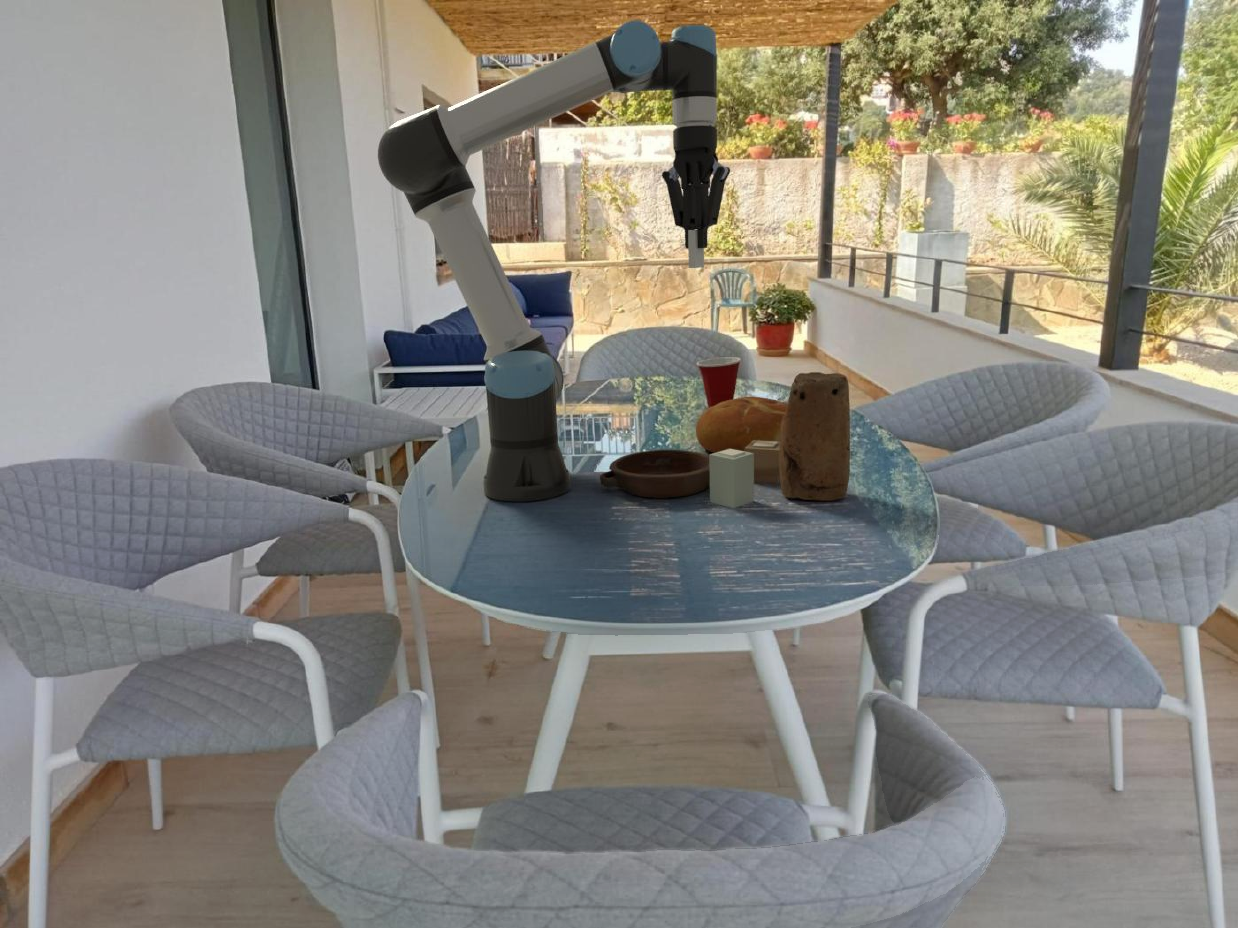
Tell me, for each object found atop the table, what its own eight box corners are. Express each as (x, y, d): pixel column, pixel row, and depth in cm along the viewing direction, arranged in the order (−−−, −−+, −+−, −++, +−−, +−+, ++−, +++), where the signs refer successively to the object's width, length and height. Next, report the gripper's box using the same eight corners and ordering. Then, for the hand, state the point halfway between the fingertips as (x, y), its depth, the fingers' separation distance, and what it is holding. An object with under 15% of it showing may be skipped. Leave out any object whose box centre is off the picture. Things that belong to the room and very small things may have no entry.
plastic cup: (696, 404, 220) (695, 356, 217) (739, 403, 220) (739, 355, 217) (697, 413, 210) (696, 363, 207) (743, 411, 209) (742, 362, 206)
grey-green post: (733, 508, 138) (733, 457, 136) (710, 502, 142) (709, 452, 140) (753, 501, 141) (753, 451, 139) (730, 495, 145) (729, 446, 143)
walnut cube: (778, 484, 150) (778, 448, 149) (744, 481, 153) (744, 446, 151) (785, 474, 156) (786, 440, 154) (752, 472, 158) (752, 438, 156)
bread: (806, 466, 161) (807, 413, 158) (683, 460, 169) (682, 409, 166) (820, 437, 182) (821, 390, 179) (710, 433, 189) (710, 388, 187)
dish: (602, 477, 160) (601, 450, 158) (723, 473, 159) (723, 446, 158) (597, 506, 143) (596, 477, 142) (733, 502, 142) (733, 472, 141)
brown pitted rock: (844, 489, 145) (848, 370, 140) (850, 503, 138) (854, 378, 133) (778, 489, 147) (779, 371, 142) (780, 503, 140) (781, 379, 135)
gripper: (739, 124, 148) (739, 266, 154) (676, 131, 156) (678, 266, 163) (715, 121, 143) (715, 268, 149) (651, 129, 151) (654, 268, 157)
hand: (696, 267), depth 156 cm, fingers closed
